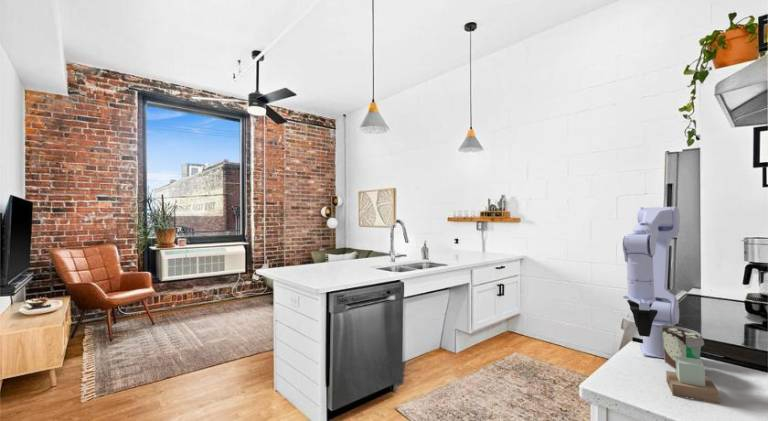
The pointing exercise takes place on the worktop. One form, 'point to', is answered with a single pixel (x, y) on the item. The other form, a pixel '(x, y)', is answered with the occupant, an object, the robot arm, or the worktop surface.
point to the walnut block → (692, 389)
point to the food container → (680, 343)
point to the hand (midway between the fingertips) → (642, 331)
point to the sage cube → (690, 371)
